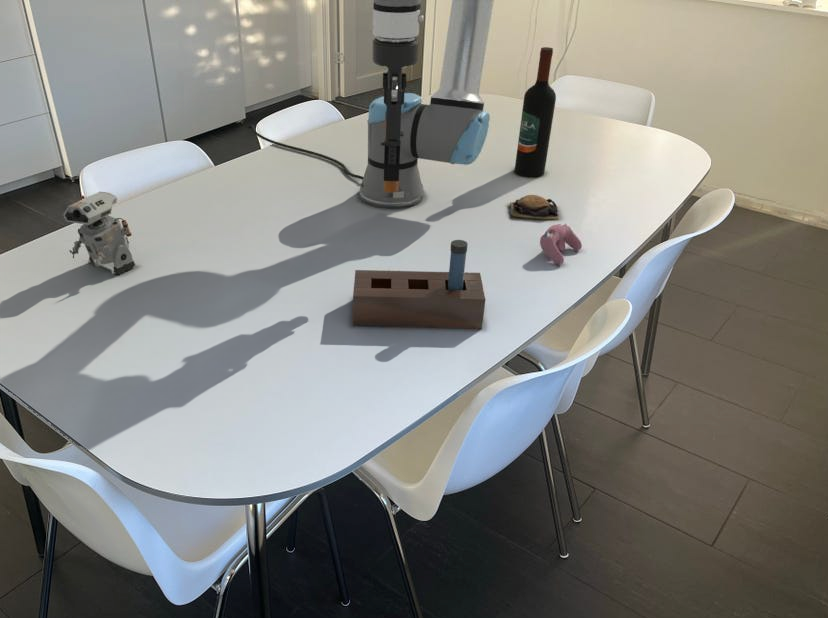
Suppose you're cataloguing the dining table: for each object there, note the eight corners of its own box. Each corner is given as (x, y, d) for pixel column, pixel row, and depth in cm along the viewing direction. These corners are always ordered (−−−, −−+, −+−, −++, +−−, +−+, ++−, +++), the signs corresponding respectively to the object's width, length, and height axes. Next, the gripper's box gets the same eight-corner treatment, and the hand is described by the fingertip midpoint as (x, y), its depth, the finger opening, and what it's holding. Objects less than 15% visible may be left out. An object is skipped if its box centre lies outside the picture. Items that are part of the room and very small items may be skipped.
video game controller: (564, 251, 155) (555, 220, 153) (584, 248, 152) (575, 216, 150) (542, 268, 149) (533, 236, 147) (563, 265, 145) (553, 232, 143)
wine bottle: (546, 177, 185) (566, 52, 168) (516, 177, 185) (533, 52, 168) (541, 167, 191) (559, 45, 174) (512, 166, 191) (527, 44, 174)
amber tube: (380, 190, 133) (381, 112, 125) (390, 186, 135) (392, 109, 127) (391, 194, 132) (394, 115, 124) (401, 189, 134) (404, 112, 125)
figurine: (65, 273, 144) (47, 202, 135) (113, 252, 151) (99, 183, 143) (94, 287, 139) (77, 214, 131) (142, 265, 147) (129, 194, 138)
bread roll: (511, 219, 165) (513, 203, 163) (509, 203, 172) (511, 189, 170) (559, 221, 164) (562, 205, 162) (555, 205, 171) (558, 190, 169)
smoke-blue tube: (441, 314, 131) (447, 243, 123) (451, 308, 133) (457, 238, 125) (454, 319, 130) (461, 248, 122) (463, 313, 131) (471, 243, 123)
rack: (355, 298, 136) (355, 269, 132) (476, 301, 135) (480, 272, 132) (352, 325, 128) (352, 296, 125) (481, 329, 127) (485, 299, 124)
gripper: (420, 48, 112) (412, 194, 125) (417, 28, 125) (411, 162, 138) (371, 47, 112) (369, 193, 126) (374, 27, 125) (371, 161, 139)
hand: (391, 176), depth 132 cm, fingers closed on amber tube, 2 cm apart
